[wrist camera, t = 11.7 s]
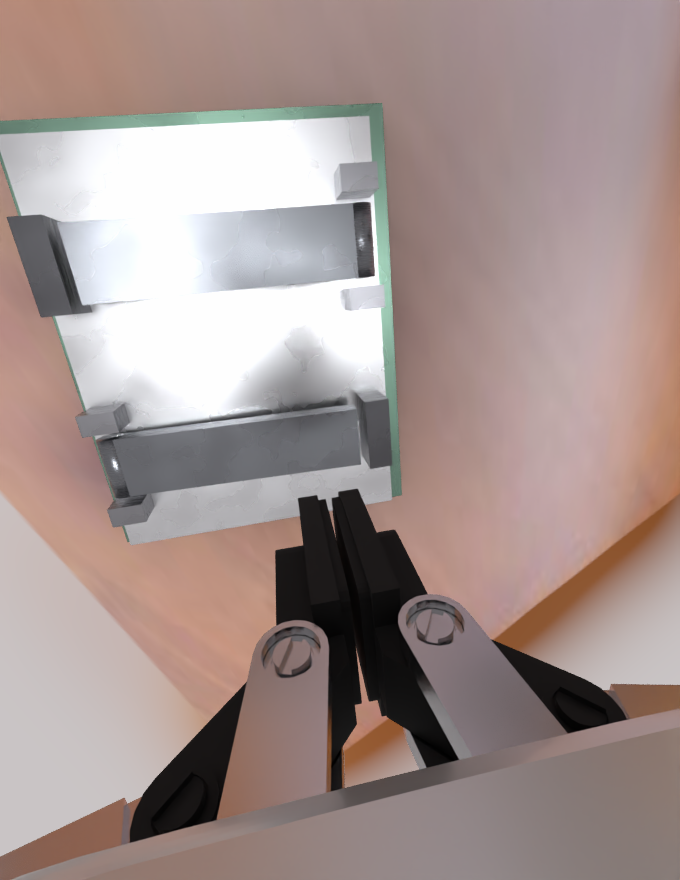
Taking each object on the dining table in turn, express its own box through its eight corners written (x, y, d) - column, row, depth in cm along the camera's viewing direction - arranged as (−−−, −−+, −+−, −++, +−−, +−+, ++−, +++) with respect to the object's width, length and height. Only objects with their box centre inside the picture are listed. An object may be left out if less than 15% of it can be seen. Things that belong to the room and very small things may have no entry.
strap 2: (119, 488, 21) (109, 499, 20) (102, 435, 20) (90, 443, 19) (357, 456, 22) (361, 465, 21) (353, 403, 21) (356, 409, 20)
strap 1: (366, 207, 18) (373, 201, 17) (370, 277, 20) (378, 275, 18) (68, 227, 16) (55, 221, 15) (91, 304, 17) (81, 305, 16)
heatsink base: (377, 111, 21) (416, 44, 15) (397, 488, 29) (428, 535, 23) (1, 130, 19) (-113, 59, 13) (132, 533, 26) (96, 597, 21)
